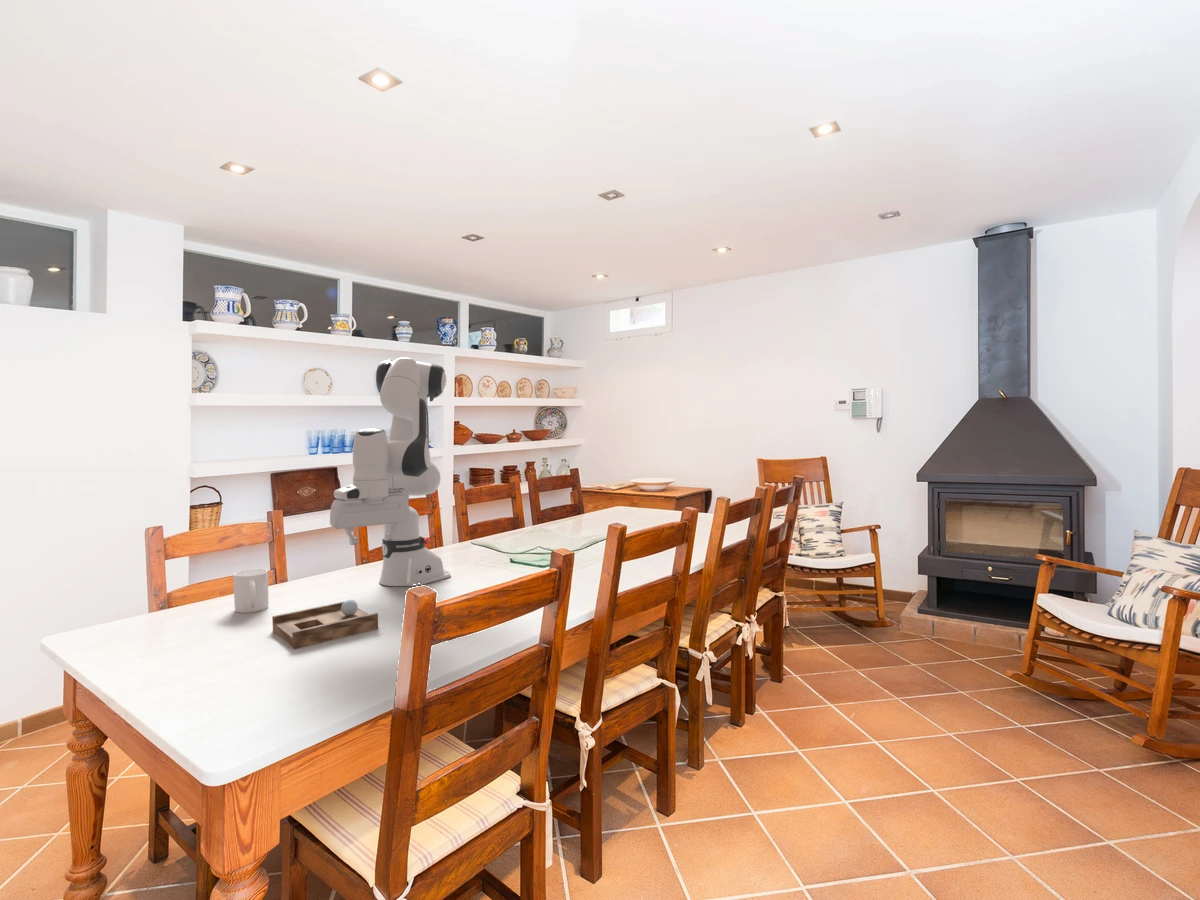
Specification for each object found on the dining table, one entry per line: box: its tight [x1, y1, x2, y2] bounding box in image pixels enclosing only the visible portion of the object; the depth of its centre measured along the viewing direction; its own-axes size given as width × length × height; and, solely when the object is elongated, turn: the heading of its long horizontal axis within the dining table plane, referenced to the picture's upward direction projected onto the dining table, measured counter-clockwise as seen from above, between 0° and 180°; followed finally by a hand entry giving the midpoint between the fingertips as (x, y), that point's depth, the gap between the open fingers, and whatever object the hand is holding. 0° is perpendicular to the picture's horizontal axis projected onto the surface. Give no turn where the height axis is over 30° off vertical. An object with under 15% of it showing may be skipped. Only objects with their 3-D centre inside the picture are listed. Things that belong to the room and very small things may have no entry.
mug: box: [233, 568, 270, 614], centre depth 170 cm, size 12×8×10 cm
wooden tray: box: [271, 600, 379, 650], centre depth 155 cm, size 20×16×4 cm
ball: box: [341, 599, 359, 616], centre depth 159 cm, size 4×4×4 cm
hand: (371, 542), depth 163 cm, fingers open, 8 cm apart
